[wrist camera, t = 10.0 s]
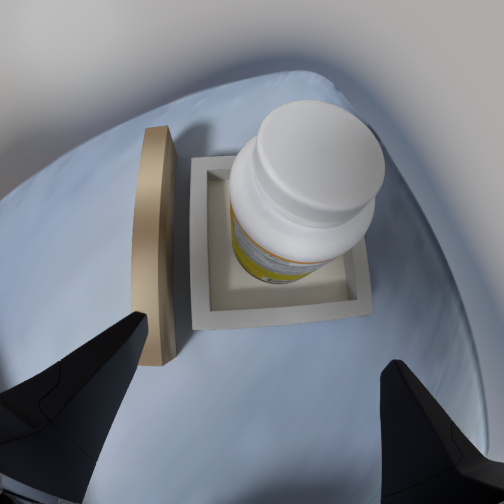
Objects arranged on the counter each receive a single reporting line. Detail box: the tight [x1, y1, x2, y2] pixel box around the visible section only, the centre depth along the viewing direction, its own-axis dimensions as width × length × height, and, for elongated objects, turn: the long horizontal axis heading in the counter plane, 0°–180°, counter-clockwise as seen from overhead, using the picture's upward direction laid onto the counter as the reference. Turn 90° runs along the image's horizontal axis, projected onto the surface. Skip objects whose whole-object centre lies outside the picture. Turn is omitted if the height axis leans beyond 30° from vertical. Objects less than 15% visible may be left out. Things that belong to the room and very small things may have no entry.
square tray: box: [190, 156, 374, 330], centre depth 17 cm, size 10×10×2 cm
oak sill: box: [131, 125, 177, 366], centre depth 15 cm, size 14×2×4 cm, turn 4°
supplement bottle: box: [229, 100, 385, 285], centre depth 12 cm, size 6×6×10 cm
